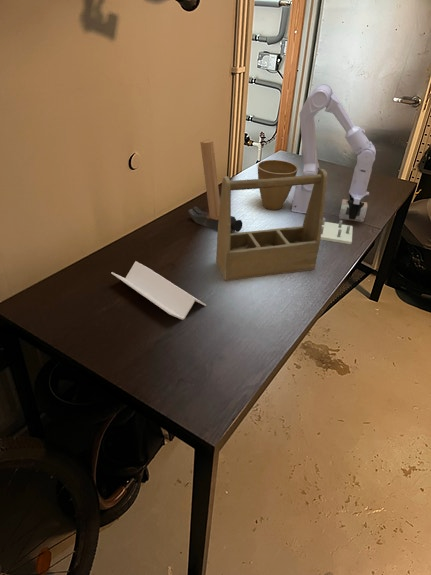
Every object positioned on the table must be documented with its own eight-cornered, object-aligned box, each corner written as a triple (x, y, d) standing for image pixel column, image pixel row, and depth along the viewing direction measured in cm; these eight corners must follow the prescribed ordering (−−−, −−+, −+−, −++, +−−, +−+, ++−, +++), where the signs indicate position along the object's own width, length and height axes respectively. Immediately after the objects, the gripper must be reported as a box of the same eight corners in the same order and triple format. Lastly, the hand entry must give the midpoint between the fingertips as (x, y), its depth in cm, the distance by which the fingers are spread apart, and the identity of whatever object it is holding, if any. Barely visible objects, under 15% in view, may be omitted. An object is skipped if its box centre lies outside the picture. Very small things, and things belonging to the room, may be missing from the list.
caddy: (224, 282, 125) (230, 184, 108) (215, 262, 134) (218, 169, 116) (315, 270, 132) (334, 176, 114) (300, 252, 140) (316, 163, 123)
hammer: (190, 226, 157) (177, 141, 142) (198, 221, 160) (187, 138, 146) (234, 234, 145) (225, 143, 131) (243, 229, 149) (235, 139, 134)
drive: (338, 218, 161) (342, 204, 158) (339, 213, 165) (342, 199, 161) (363, 222, 160) (367, 207, 156) (363, 217, 163) (367, 202, 160)
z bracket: (137, 285, 130) (148, 267, 130) (194, 324, 116) (206, 305, 116) (111, 273, 120) (122, 253, 120) (170, 314, 106) (183, 293, 106)
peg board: (306, 237, 149) (308, 228, 147) (310, 222, 158) (312, 213, 156) (351, 244, 146) (353, 235, 144) (352, 228, 155) (354, 219, 153)
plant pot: (291, 216, 161) (297, 175, 152) (252, 212, 163) (256, 171, 154) (292, 199, 173) (298, 161, 164) (255, 196, 175) (259, 157, 166)
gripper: (372, 189, 147) (363, 224, 155) (371, 174, 158) (363, 207, 166) (351, 186, 148) (343, 221, 156) (352, 171, 160) (344, 205, 168)
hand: (352, 214), depth 161 cm, fingers open, 7 cm apart
